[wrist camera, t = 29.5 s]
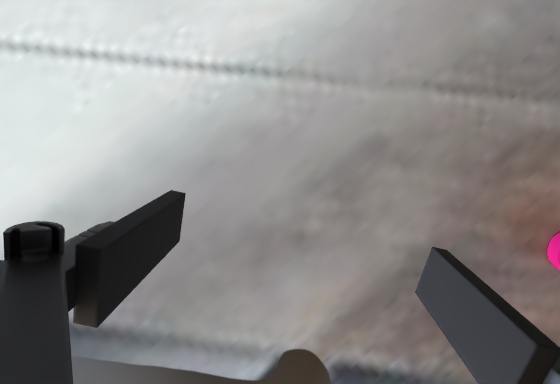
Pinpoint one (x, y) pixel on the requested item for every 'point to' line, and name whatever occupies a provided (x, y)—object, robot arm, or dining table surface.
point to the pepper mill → (554, 251)
